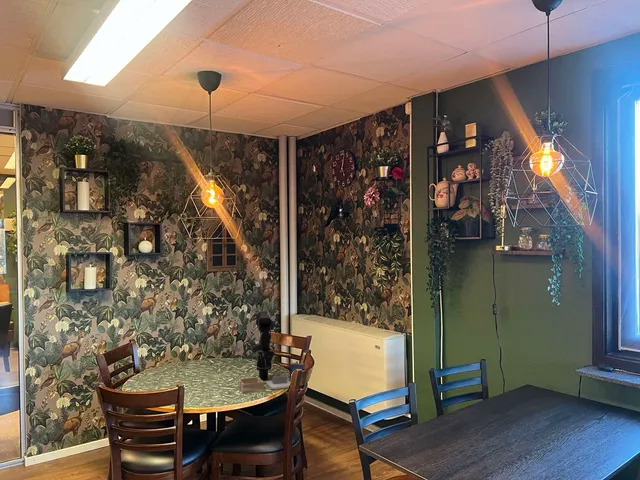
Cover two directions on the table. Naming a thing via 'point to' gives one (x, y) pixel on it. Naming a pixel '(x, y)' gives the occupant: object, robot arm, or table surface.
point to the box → (250, 385)
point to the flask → (295, 367)
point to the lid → (279, 382)
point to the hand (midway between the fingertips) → (264, 365)
